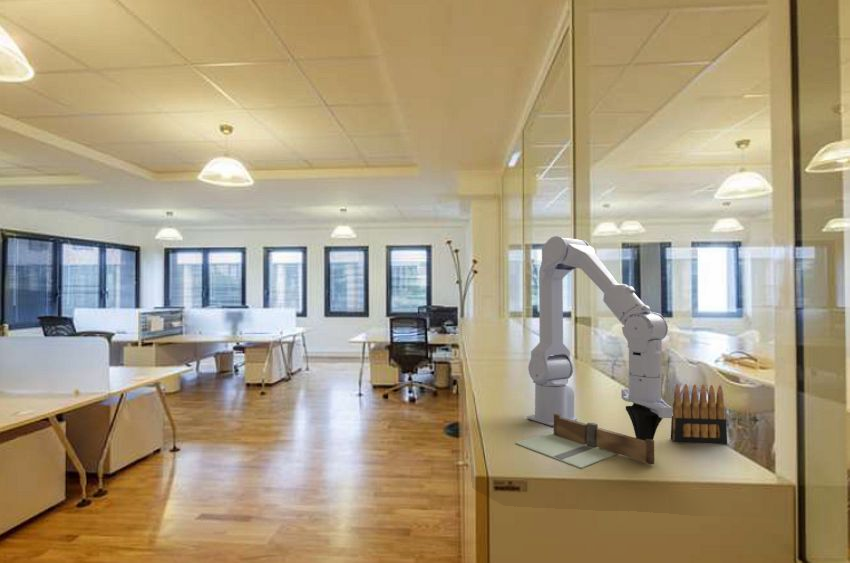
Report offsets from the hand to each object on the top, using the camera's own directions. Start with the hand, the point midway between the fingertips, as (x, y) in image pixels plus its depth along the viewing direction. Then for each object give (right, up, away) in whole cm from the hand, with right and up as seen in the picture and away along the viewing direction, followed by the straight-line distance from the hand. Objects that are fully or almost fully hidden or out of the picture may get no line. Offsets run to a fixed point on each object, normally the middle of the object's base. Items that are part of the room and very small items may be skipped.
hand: (644, 445), depth 83 cm
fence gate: (-5, -1, -3) cm, 6 cm away
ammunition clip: (+15, -2, +7) cm, 17 cm away
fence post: (-12, -1, +6) cm, 13 cm away
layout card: (-14, -1, +2) cm, 14 cm away
